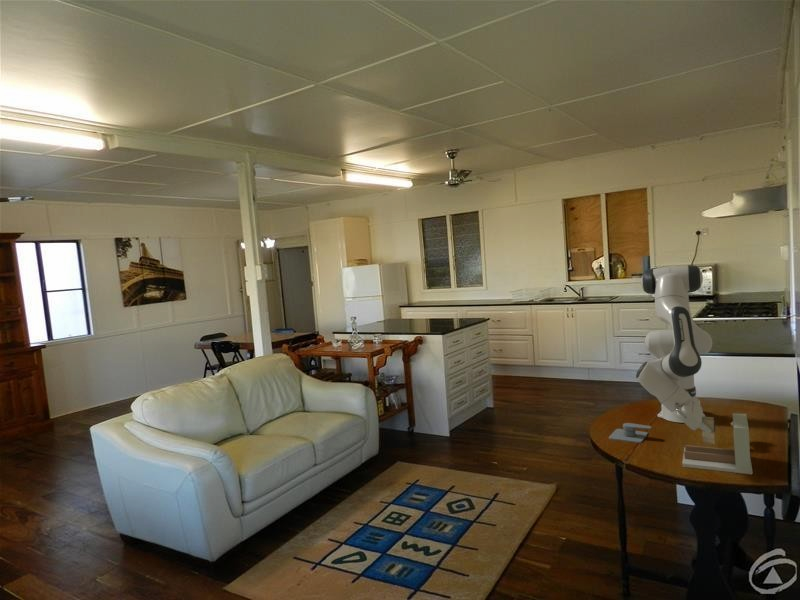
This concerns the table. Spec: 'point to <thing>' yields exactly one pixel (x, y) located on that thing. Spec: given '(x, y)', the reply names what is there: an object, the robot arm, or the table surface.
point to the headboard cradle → (723, 452)
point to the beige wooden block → (710, 437)
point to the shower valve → (630, 433)
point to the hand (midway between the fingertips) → (710, 429)
